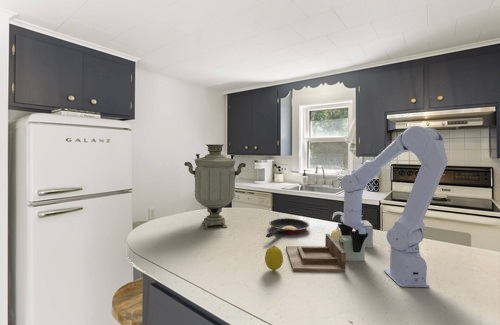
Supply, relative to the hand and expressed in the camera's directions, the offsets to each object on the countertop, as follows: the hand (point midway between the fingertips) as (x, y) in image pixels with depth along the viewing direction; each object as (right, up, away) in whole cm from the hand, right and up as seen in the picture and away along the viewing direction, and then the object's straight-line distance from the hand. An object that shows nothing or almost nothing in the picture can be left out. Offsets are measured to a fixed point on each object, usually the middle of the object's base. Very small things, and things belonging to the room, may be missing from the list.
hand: (351, 247), depth 89 cm
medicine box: (+10, -3, +13) cm, 17 cm away
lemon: (-28, -4, -10) cm, 30 cm away
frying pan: (-21, -2, +25) cm, 33 cm away
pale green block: (0, -4, 0) cm, 4 cm away
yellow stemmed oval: (+1, -3, +17) cm, 17 cm away
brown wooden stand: (-14, -3, -2) cm, 15 cm away
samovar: (-52, -1, +40) cm, 66 cm away
